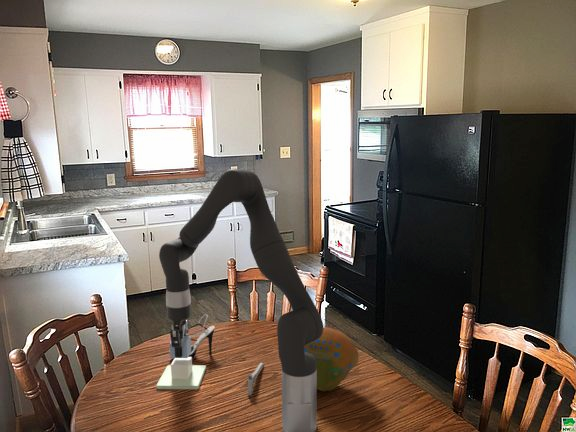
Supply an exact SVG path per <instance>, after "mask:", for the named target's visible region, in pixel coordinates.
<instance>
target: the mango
mask: <svg viewBox="0 0 576 432" xmlns="http://www.w3.org/2000/svg"><path fill="white" fill-rule="evenodd" d="M304 352H308V353H310V354H312V355H313V356H314V357H315V358H316V361H317V391H318V390H319V391H321V392H330V391H332V390H334V389H336V388H337V387H338V386H339V385H340V384H341V383H342V382H343V381H345V379H346V378H347V377H348V375H349V373H350V371H352V370H353V369H354V368H355V367H356V366H357V365H358V363H359V352H358V349H357V347H356V346H355V344H354V342H353V341H352V340H351V338H349V337H348V335H346V334H344V332H342V331H341V330H337V329H334V328H332V327H324V326H323V333H322V335H321V337H320V338H318V339H317V340H315V341H312V342H310V343H308V344H306V345H304Z"/></svg>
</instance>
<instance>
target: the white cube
mask: <svg viewBox="0 0 576 432" xmlns="http://www.w3.org/2000/svg"><path fill="white" fill-rule="evenodd" d="M170 365H171V376H172V379H188V380H189V377H190V375H191V373H192V365H193V360H192V357H188V358H174V359H173V360H172V362H171V364H170Z"/></svg>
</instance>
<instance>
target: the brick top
mask: <svg viewBox="0 0 576 432" xmlns="http://www.w3.org/2000/svg"><path fill="white" fill-rule="evenodd" d="M191 339H192V337H191V335H187V336H184V338H183V339H182V357H181V358H188V356H189V354H190V352H191V346H192V345H191V344H192V340H191ZM176 343H178V342H177V341H176ZM169 351H170V353H169V356H170V359H173V358H176V357H175V348H174V347H172V344H171V341H170V342H169Z"/></svg>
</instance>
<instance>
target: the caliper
mask: <svg viewBox="0 0 576 432" xmlns="http://www.w3.org/2000/svg"><path fill="white" fill-rule="evenodd" d="M264 365H265V363H263V362H260V363H259V364H258V365H257V367H256V368H255V370H254V372H252V373H250V374H249V375H248V377H247V378H248V379H247V396H249V397H252V394H253V393H254V384H255V383H256V381H257V378H258V376H259V374H260V373H261V371H262V370H263V368H264Z"/></svg>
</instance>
